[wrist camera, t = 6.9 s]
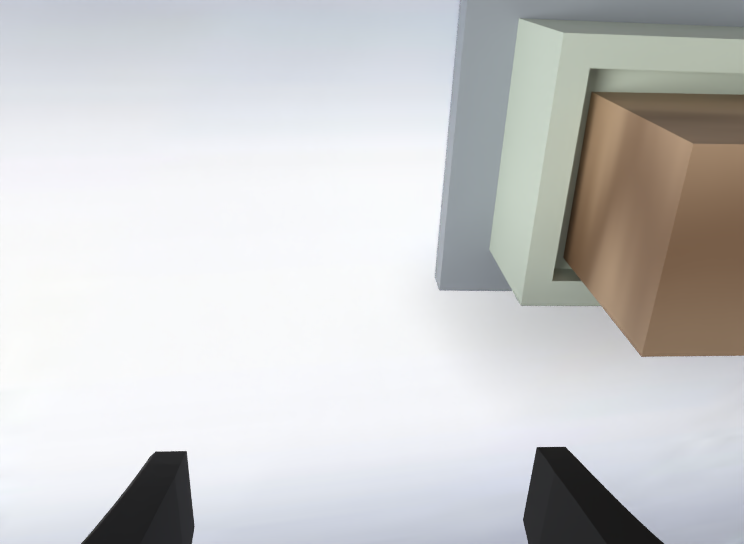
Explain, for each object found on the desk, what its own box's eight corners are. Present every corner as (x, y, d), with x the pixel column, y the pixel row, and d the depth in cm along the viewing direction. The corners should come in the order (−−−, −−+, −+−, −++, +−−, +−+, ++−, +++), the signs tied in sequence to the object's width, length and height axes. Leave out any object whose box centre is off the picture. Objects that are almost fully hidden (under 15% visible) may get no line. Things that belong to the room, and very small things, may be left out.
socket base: (712, 279, 23) (799, 352, 19) (434, 276, 23) (460, 352, 18) (803, -29, 19) (941, -24, 15) (464, -44, 18) (506, -44, 14)
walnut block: (719, 257, 19) (846, 354, 14) (563, 257, 18) (641, 356, 14) (765, 95, 17) (929, 147, 12) (591, 91, 16) (693, 143, 12)
